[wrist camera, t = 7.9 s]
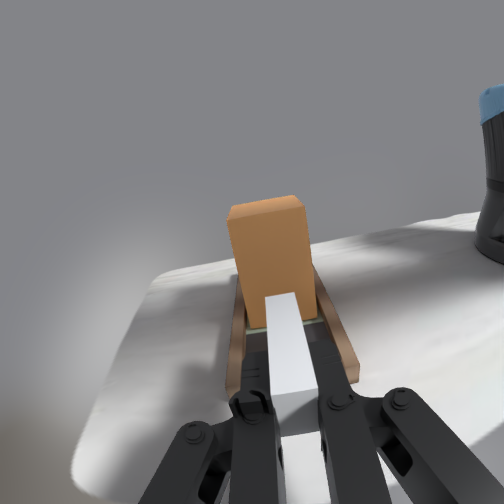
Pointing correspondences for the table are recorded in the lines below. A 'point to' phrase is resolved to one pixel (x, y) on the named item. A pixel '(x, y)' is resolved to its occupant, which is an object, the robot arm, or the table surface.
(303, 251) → the block
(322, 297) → the brown wooden rectangular frame
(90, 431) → the table surface
